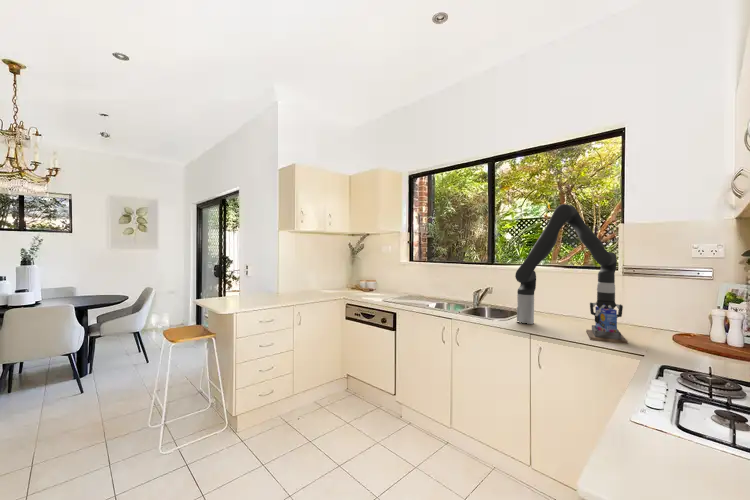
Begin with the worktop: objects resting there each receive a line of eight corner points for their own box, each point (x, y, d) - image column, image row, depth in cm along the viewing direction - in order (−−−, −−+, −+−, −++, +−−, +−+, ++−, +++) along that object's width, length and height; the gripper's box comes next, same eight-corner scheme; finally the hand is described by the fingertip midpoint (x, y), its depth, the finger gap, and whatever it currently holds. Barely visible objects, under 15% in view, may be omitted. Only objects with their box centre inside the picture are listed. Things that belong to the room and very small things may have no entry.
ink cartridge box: (594, 329, 175) (594, 301, 175) (605, 329, 174) (606, 302, 174) (605, 334, 165) (605, 305, 165) (617, 334, 164) (617, 305, 164)
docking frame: (590, 339, 165) (590, 331, 165) (586, 331, 181) (586, 323, 181) (627, 343, 158) (627, 335, 158) (620, 335, 174) (620, 327, 174)
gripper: (590, 291, 169) (589, 324, 170) (625, 293, 163) (624, 327, 163) (588, 289, 176) (588, 321, 176) (621, 291, 170) (621, 324, 170)
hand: (605, 324), depth 170 cm, fingers closed on ink cartridge box, 6 cm apart
